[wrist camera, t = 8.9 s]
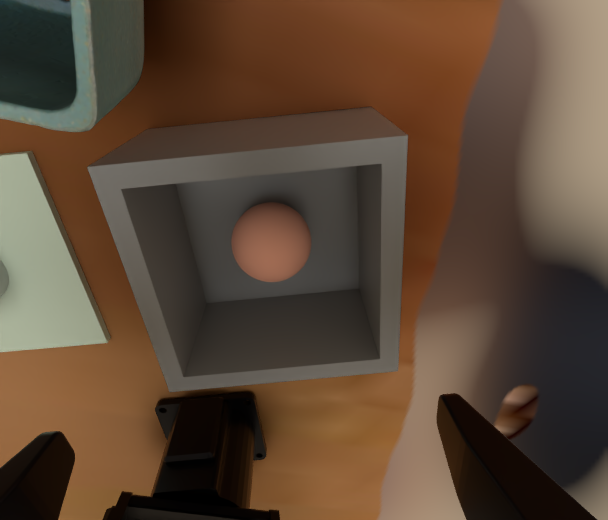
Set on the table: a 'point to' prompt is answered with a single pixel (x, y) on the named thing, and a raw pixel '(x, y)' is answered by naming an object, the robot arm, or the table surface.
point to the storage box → (220, 260)
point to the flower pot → (68, 60)
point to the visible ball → (271, 242)
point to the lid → (39, 267)
